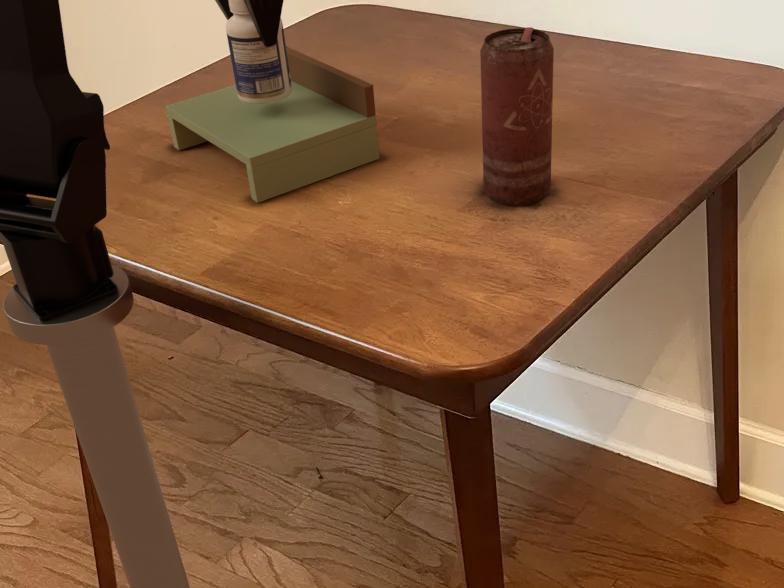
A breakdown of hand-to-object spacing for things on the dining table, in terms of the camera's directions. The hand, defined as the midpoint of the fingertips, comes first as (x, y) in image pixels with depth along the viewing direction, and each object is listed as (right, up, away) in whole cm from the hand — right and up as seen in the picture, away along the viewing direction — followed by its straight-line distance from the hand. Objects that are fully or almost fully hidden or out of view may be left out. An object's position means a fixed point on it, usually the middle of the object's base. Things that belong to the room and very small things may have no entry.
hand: (255, 39), depth 98 cm
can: (+25, -16, -3) cm, 29 cm away
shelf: (+1, -9, +7) cm, 12 cm away
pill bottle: (0, -4, +4) cm, 6 cm away
